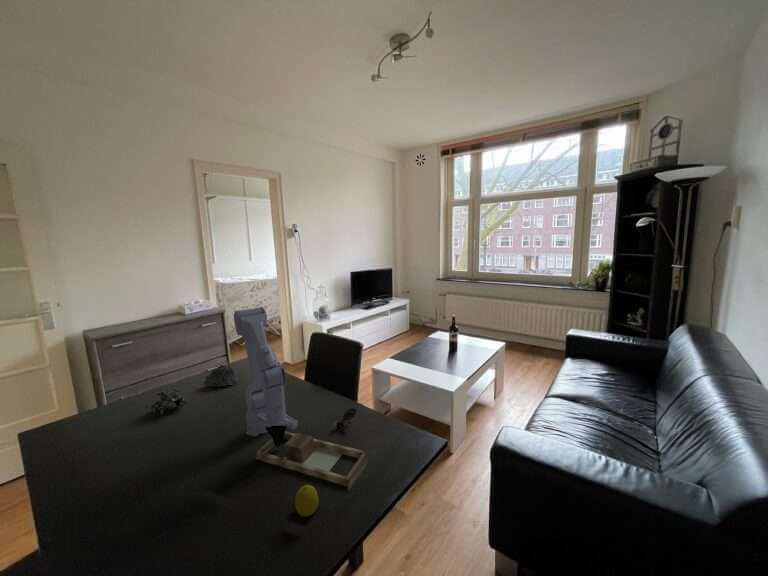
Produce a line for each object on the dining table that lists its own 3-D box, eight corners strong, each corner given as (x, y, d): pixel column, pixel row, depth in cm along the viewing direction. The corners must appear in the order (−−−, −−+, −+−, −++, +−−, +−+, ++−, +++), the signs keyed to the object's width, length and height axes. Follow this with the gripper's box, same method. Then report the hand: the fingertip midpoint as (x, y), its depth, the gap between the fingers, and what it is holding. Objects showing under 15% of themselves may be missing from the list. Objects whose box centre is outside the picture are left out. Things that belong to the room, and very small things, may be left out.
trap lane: (256, 463, 99) (255, 452, 98) (282, 439, 109) (281, 430, 109) (348, 491, 86) (348, 480, 86) (367, 462, 97) (367, 451, 97)
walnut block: (286, 459, 98) (284, 444, 97) (298, 447, 103) (297, 432, 102) (302, 464, 95) (301, 448, 94) (314, 451, 101) (313, 436, 100)
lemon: (298, 506, 82) (296, 479, 81) (320, 504, 83) (318, 477, 81) (294, 526, 77) (291, 496, 75) (317, 523, 77) (315, 494, 76)
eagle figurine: (357, 433, 110) (361, 414, 119) (345, 418, 108) (349, 400, 117) (340, 442, 112) (345, 422, 120) (327, 428, 110) (333, 409, 119)
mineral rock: (202, 388, 150) (199, 367, 148) (221, 378, 160) (219, 358, 158) (223, 391, 145) (221, 370, 144) (241, 381, 155) (239, 361, 153)
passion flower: (180, 419, 134) (194, 396, 133) (156, 429, 123) (171, 405, 122) (162, 401, 136) (176, 379, 135) (137, 410, 126) (152, 386, 124)
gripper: (247, 407, 99) (251, 447, 101) (285, 415, 93) (289, 457, 96) (263, 396, 105) (267, 434, 107) (300, 403, 100) (303, 443, 102)
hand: (279, 444), depth 102 cm, fingers closed
